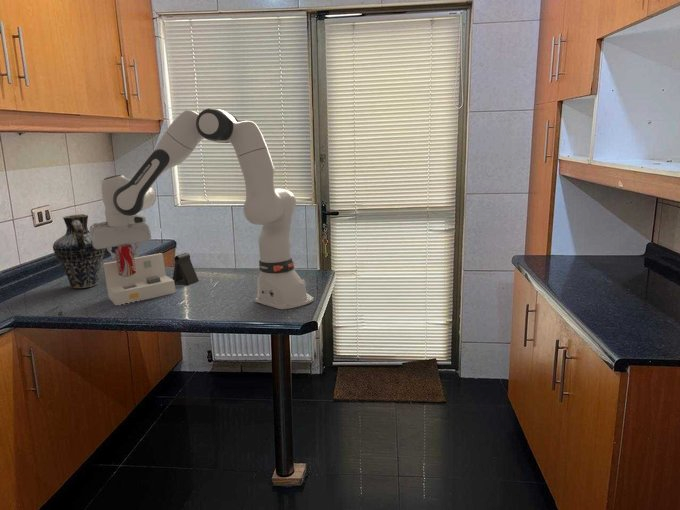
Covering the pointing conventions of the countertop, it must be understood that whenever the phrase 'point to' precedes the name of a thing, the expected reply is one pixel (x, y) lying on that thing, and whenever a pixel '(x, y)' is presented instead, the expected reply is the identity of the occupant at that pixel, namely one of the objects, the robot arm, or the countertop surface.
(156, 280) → the breaker
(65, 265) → the dark grey patterned vase
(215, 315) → the countertop surface
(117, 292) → the white stepped stand
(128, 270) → the beverage can
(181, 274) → the dark grey wedge
